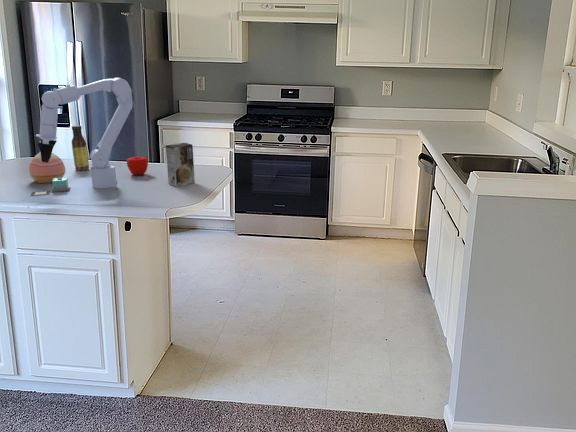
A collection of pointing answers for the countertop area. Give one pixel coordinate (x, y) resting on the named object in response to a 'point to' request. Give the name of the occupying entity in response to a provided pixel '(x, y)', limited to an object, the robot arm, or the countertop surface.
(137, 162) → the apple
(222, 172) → the countertop surface
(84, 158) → the sauce bottle
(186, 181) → the coffee box
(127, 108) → the robot arm
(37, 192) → the stand
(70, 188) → the stand
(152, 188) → the countertop surface
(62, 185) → the housing
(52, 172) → the vase
